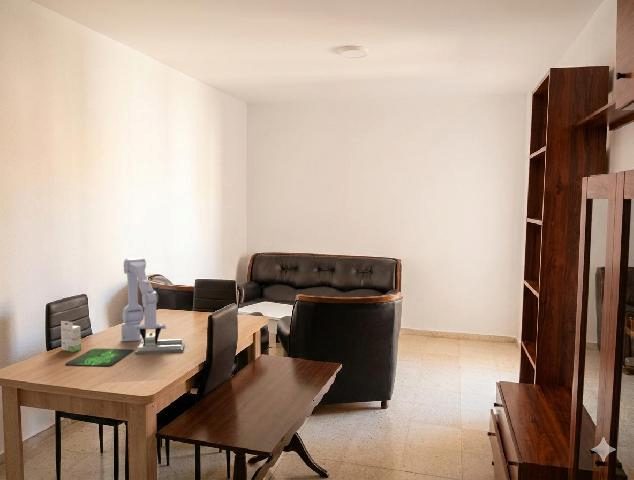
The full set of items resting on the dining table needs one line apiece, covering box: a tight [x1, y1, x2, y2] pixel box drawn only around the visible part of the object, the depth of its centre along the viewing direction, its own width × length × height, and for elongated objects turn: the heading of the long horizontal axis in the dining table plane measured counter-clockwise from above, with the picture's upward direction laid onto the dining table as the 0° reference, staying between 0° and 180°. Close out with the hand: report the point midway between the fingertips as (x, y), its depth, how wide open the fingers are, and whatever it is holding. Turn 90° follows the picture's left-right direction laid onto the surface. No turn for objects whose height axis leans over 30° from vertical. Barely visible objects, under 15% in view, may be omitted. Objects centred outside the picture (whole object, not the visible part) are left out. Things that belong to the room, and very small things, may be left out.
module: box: [145, 331, 157, 346], centre depth 255 cm, size 5×8×7 cm, turn 12°
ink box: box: [60, 320, 82, 353], centre depth 254 cm, size 9×5×15 cm, turn 65°
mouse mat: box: [65, 348, 135, 367], centre depth 243 cm, size 27×22×1 cm
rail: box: [137, 338, 183, 351], centre depth 256 cm, size 20×12×2 cm, turn 101°
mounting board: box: [135, 342, 185, 355], centre depth 256 cm, size 22×13×1 cm, turn 101°
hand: (150, 343), depth 255 cm, fingers closed on module, 5 cm apart
